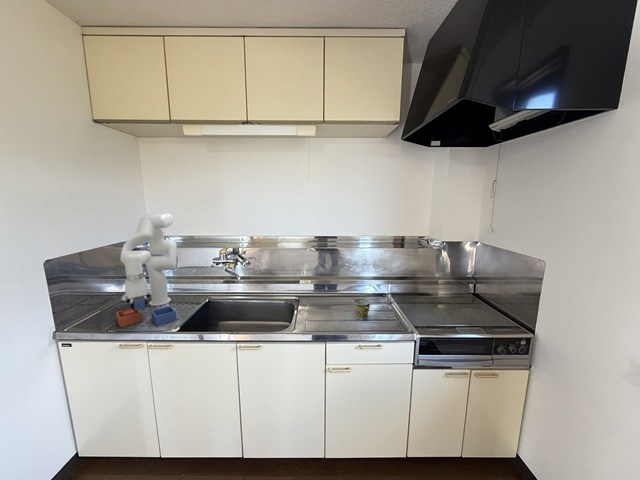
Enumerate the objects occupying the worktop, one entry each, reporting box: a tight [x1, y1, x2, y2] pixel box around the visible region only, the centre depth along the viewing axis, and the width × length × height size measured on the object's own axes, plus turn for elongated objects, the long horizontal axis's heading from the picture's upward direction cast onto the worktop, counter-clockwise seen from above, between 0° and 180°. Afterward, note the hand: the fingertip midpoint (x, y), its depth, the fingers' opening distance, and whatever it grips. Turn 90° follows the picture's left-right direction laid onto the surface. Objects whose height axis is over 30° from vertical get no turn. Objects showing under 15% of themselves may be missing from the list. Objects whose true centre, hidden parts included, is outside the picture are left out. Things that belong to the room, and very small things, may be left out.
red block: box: [122, 310, 135, 316], centre depth 155 cm, size 5×5×5 cm
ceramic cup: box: [352, 297, 371, 321], centre depth 158 cm, size 13×10×10 cm
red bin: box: [115, 308, 143, 328], centre depth 155 cm, size 10×10×6 cm
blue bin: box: [150, 305, 177, 327], centre depth 157 cm, size 10×10×6 cm
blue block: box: [133, 296, 147, 311], centre depth 150 cm, size 5×5×5 cm
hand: (139, 307), depth 151 cm, fingers closed on blue block, 5 cm apart
